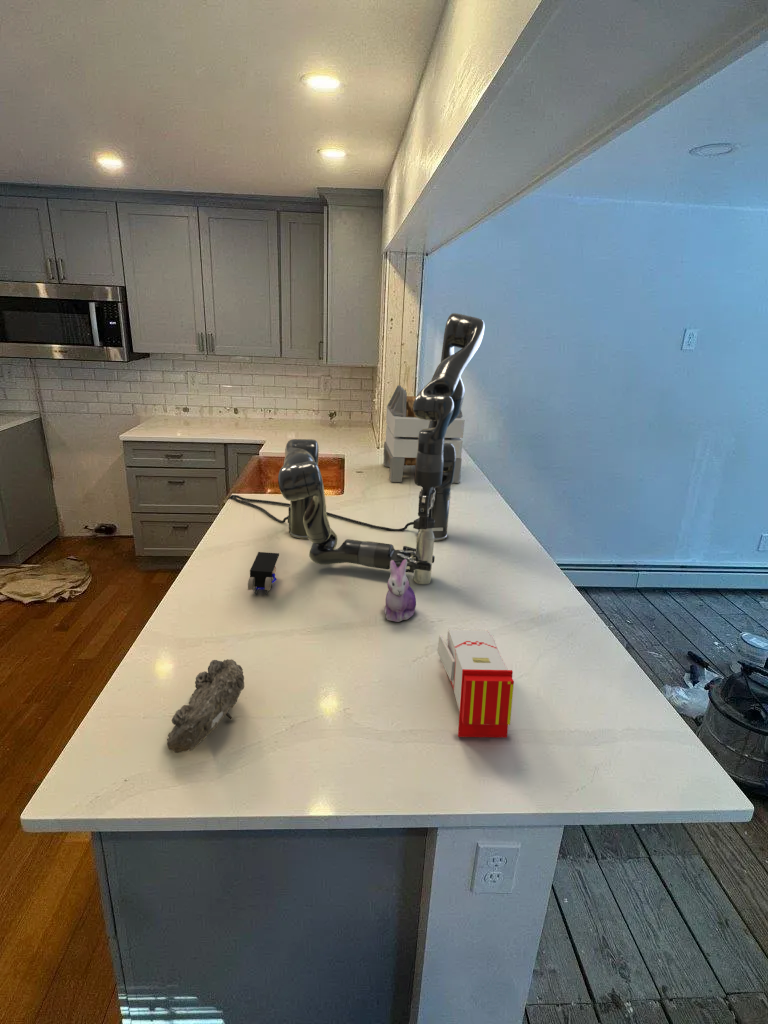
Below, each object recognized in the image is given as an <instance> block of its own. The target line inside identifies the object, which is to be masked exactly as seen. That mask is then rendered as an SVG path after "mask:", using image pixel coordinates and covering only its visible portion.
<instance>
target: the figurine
mask: <svg viewBox="0 0 768 1024" xmlns="http://www.w3.org/2000/svg"><path fill="white" fill-rule="evenodd" d="M406 567H407V559H404V560H403V561H402V563H401V565H400V566H399V567H397V566H396V564H395V562H394V561H393V560H391V561H390V569H389V570H390V576H389V578H388V579H387V589H388V591H387V592H386V594H385V595H386V596H385V607H384V615H385V616H386V620H387V621H391V622H395V623H400V622H402V621H406V620H409V619H410V618H411V617H413V616H414V615H415V610H416V606H417V597H416V593H415V591H414V590H413V587H411V586H410V582H409V579H408V577H407V574H406V572H405V571H406Z"/></svg>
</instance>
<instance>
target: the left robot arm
mask: <svg viewBox="0 0 768 1024" xmlns="http://www.w3.org/2000/svg"><path fill="white" fill-rule="evenodd" d="M285 444H286V445H285V448H284V460H283V463H282V466H281V468H280V469H279V471H278V476H277V482H278V483H277V484H278V489H279V492H280V494H281V495H282V497H283V498H284V499H285V500H287V501H289V502H290V503H289V504H290V506H288V515H287V516H286V517H285V516H284V518H283V520H282V519H279V518H278V517H276V516H274V515H273V514H271V513H270V512H269V511H268V510H266V509H265V508H263V507H261V506H259V505H257V504H254V503H253V502H250V501H244V500H241V499H239V498H236V497H235V496H233V498H232V499H234V501H236V502H237V503H242V504H245V505H248V506H251V507H253V508H256V509H258V510H259V511H261V512H263V513H264V514H266V515H267V516H268V517H269V518H271V519H273V520H274V521H276V522H277V523H280V524H284V523H286V521H287V524H288V533H290V536H291V537H293V538H294V539H301V540H307V539H308V540H309V541H310V542H311V547H310V549H309V553H308V557H309V560H311V561H312V562H313V563H314V564H317V565H319V566H329V565H337V564H346V563H347V564H354V565H360V566H364V567H368V568H374V569H380V570H390V561H391V560H393V561H394V562H395V564H396V566H397V567H399V566H400V565H401V563H402V561H403V560H404V559H407V567H406V571H405V573H410V574H414V570H417V569H419V570H425V571H430V570H431V571H432V569H431V563H426V562H418V561H415V557H416V547H415V548H414V547H411V546H407V545H403V546H402V549H395V547H394V545H393V544H391V543H385V542H379V541H369V540H368V541H366V540H365V541H364V540H357V539H345V540H344V541H343V542H342V543H341V545H340V546H339V547H338V548H337V545H338V535H337V533H336V532H335V531H334V530H333V529H332V528H331V525H330V522H329V518H328V515H327V513H326V512H327V504H326V502H327V501H326V493H325V486H324V480H323V476H322V473H321V469H320V467H319V456H320V455H319V454H320V453H319V452H320V451H319V450H320V449H319V443H318V441H317V440H316V439H314V438H313V439H312V438H311V439H310V438H307V439H305V438H304V439H302V438H292V439H290V440H288V441H287V443H285ZM232 495H233V494H231V495H230V496H232ZM435 558H436V557H435V555H433V557H432V564H434V563H435V561H436V560H435Z"/></svg>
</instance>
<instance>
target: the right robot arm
mask: <svg viewBox="0 0 768 1024" xmlns="http://www.w3.org/2000/svg"><path fill="white" fill-rule="evenodd" d="M484 334H485V321H484V320H483V319H482V318H480V317H475V316H471V315H466V314H461V313H456V312H453V313H451V314H449V315H448V318H447V320H446V323H445V327H444V332H443V339H442V340H443V341H442V349H441V356H440V363H439V364H438V365H437V367H436V369H435V371H434V373H433V375H432V377H431V380H430V381H429V382H428V383H427V384H426V385H425V386H424V387H422V389H421V390H420V391H419V392H418V394H417V395H416V396H415V397H416V398H415V401H414V404H413V411H414V414H415V416H416V417H417V418H419V419H423V420H430V421H429V426H428V428H427V429H422V430H421V431H420V432H419V436H418V451H417V457H416V466H415V468H414V469H415V470H414V471H415V472H414V484H415V485H417V486H419V487H421V489H420V491H419V494H418V510H417V511H418V512H417V516H418V518H416V519H414V520H413V521H411V522H407V523H406V524H405V526H403V527H401V528H391V527H386V526H380V525H375V524H371V523H368V522H363V521H359V520H357V519H352V518H349V517H345V516H342V515H338V514H335V513H331V512H328V511H326V513H327V516H330V517H334V518H336V519H340V520H343V521H347V522H351V523H353V524H358V525H362V526H365V527H370V528H373V529H377V530H383V531H388V532H404V531H406V530H407V529H408V528H409V527H410V526H413V527H412V528H413V529H415V530H417V533H418V532H419V530H420V529H427V524H428V517H431V518H433V519H435V526H434V527H433V528H432V530H433V534H434V542H440V541H444V540H446V539H447V538H448V525H449V517H450V516H449V514H450V504H451V494H452V493H451V491H452V485H453V483H452V482H453V475H454V468H455V461H456V452H455V448H454V446H453V445H452V444H450V443H444V439H445V434H446V430H447V428H448V426H449V425H450V424H451V423H452V422H453V421H454V420H455V418H456V417H457V416H458V414H459V413H460V411H461V412H462V407H463V402H464V398H465V385H464V383H463V380H462V375H463V373H464V371H465V370H466V368H467V366H468V365H469V364H470V362H471V361H472V359H473V358H474V356H475V354H476V352H477V351H478V349H479V348H480V346H481V344H482V341H483V339H484ZM455 348H458V349H459V350H458V351H456V352H455ZM231 495H232V496H231ZM231 495H230V496H229V497H228V498H227V499H229V500H231V499H234V498H233V496H235V497H236V498H237V499H239V500H242V501H245V502H251V503H253V502H254V503H263V504H272V505H279V506H286V507H289V506H290V503H288V502H281V501H275V500H274V501H273V500H265V499H256V498H255V499H254V498H246V497H242V496H240V495H238V494H231ZM419 518H420V520H419Z"/></svg>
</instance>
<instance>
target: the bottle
mask: <svg viewBox="0 0 768 1024" xmlns="http://www.w3.org/2000/svg"><path fill="white" fill-rule="evenodd" d="M434 544H435V541H434V534H433V530H432V528H430V529H420V530H419V532H418V531H417V535H416V545H415V549H416V557H415V561H418V562H426V563H431V570H430V571H425V570H419V569H417V570H414V572H413V582H414V583H416V584H418V585H428V584H430V583H431V580H432V579H431V578H432V569H433V563H432V557H433V556H434V546H435V545H434Z"/></svg>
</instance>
